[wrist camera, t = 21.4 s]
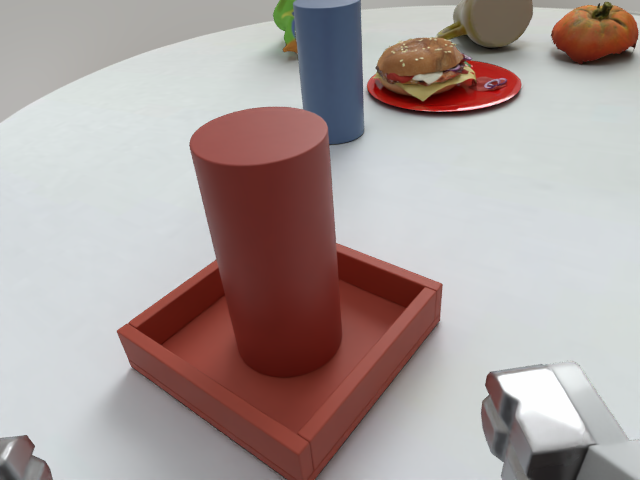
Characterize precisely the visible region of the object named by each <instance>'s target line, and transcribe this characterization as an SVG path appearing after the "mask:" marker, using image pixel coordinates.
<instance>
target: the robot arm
mask: <svg viewBox="0 0 640 480" xmlns="http://www.w3.org/2000/svg"><path fill="white" fill-rule="evenodd" d="M485 386H486V388H487V391H488V393H489V395H488V396H487V397H486V398H485V399H484V400H483V401H482V409H481V417H482V426H483V431H484V434H485V438H486V441H487V443H488V446H489V448H490V451H491V453H492V454H493V455H495V456H496V457H497V458H499V459H500V460H501V461H502V462H504V464H503V469H502V473H501V478H502V480H640V440H639V439H637V440H629V438H628V437H627V435H626V434H625V432H624V431H623V429H622V428H621V426H620V425H619V423H618V422H617V420H616V419H615V417H614V416H613V415H612V413H611V412H610V410H609V409H608V407H607V406H606V404H605V403H604V401H603V400H602V398H601V397H600V395H599V394H598V392H597V391H596V389H595V388H594V386H593V385H592V383H591V382H590V380H589V379H588V377H587V376H586V374H585V373H584V371H583V370H582V368H581V367H580V365H578V364H577V363H576V362H574V361H566V362H559V363H552V364H546V365H543V364H539V365H533V366H526V367H519V368H513V369H506V370H499V371H492V372H490V373H489V374H488V375H487V378H486V383H485ZM34 448H35V445H34V444H33V443H32V441H31V440H30V439H29V438H28V436H27V435H24V436H15V437H6V438H0V480H53V479H52V475H51V471H50V468H49V467H48V465H47V463H46V462H45V461H44V460H42V459H40V458H37V457H35V456H33V455H32V453H33V450H34Z"/></svg>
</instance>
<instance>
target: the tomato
mask: <svg viewBox="0 0 640 480" xmlns="http://www.w3.org/2000/svg"><path fill="white" fill-rule="evenodd" d="M551 36H552V40H553V43H554V44H556V47H558V49H560V50H562V51H564V52H566V53H567V55H568V56H569V57H570V58H571V59H572V60H573V61H574V62H578V63H579V64H583V61H584V62H587V61H593V60H596V59H599V58H601V57H603V56H606V55H608V54H611V53H613V54H615V53H618V54H620V53H622V51H625V50H627V49H628V48H629V47H630V46H631V47H633V48H634V49H635V46H636V42H637V40H638V28H637V23H636V21H635V20H634V18H633V16H632V15H631V14H629V13H628V12H626V11H625V10H623V9H622V8H620V7H618V6H613V5H611V3H609V2H605V3H604V4H603V6H600V4H599V5H598V6H592V5H587V6H581V7H578V8H576V9H574V10H573V11H571V12H569V13H568V14H567V15H565V16H564V17H563V18H562V19H561V20H560V21H559V22H558V23H556V25H555V26H554V28H553V31H552V34H551ZM633 51H634V50H633ZM632 53H633V52H632ZM632 53H631V54H632Z"/></svg>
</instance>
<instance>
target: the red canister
mask: <svg viewBox="0 0 640 480" xmlns="http://www.w3.org/2000/svg"><path fill="white" fill-rule="evenodd" d="M189 146H190V150H191V155H192V159H193V163H194V167H195V171H196V176H197V180H198V184H199V188H200V192H201V196H202V201H203V205H204V209H205V213H206V217H207V222H208V226H209V230H210V234H211V238H212V243H213V247H214V251H215V255H216V259H217V264H218V268H219V272H220V276H221V280H222V284H223V289H224V293H225V297H226V301H227V305H228V310H229V314H230V318H231V322H232V326H233V331H234V335H235V339H236V343H237V347H238V351H239V354H240V356H241V358H242V359H243V361H244V362H245V363H246V364H247V365H248V366H250V367H251V368H252V369H254V370H255V371H257V372H259V373H262V374H265V375H268V376H273V377H294V376H300V375H304V374H307V373H310V372H312V371H314V370H316V369H318V368H320V367H321V366H323V365H324V364H326V363H327V362H328V361H329V360H330V359H331V358H332V357H333V356H334V355H335V353H336V352H337V350H338V348H339V346H340V344H341V340H342V322H341V308H340V293H339V279H338V265H337V250H336V236H335V221H334V207H333V193H332V178H331V164H330V150H329V135H328V126H327V124H326V122H325V121H324V120H323V119H322V118H321V117H320V116H318V115H317V114H315V113H312V112H310V111H306V110H302V109H298V108H291V107H261V108H252V109H246V110H241V111H237V112H233V113H230V114H227V115H224V116H221V117H218V118H216V119H214V120H212V121H210V122H208V123H206V124H205V125H203V126H202V127H200V128H199V129H198V130H197V131H196V132H195V133H194V134H193V135H192V137H191V140H190V145H189Z"/></svg>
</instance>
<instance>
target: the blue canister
mask: <svg viewBox="0 0 640 480" xmlns="http://www.w3.org/2000/svg"><path fill="white" fill-rule="evenodd" d="M293 9H294V19H295V30H296V40H297V50H298V61H299V71H300V81H301V92H302V102H303V110H306V111H310V112H312V113H315V114H317V115H318V116H320V117H321V118H322V119H323V120H324V121H325V122H326V124H327V126H328V135H329V144H340V143H346V142H349V141H352V140H355V139H357V138H358V137H360V136H361V135H362V134H363V132H364V109H363V72H362V35H361V0H296V1H294V3H293Z"/></svg>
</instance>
